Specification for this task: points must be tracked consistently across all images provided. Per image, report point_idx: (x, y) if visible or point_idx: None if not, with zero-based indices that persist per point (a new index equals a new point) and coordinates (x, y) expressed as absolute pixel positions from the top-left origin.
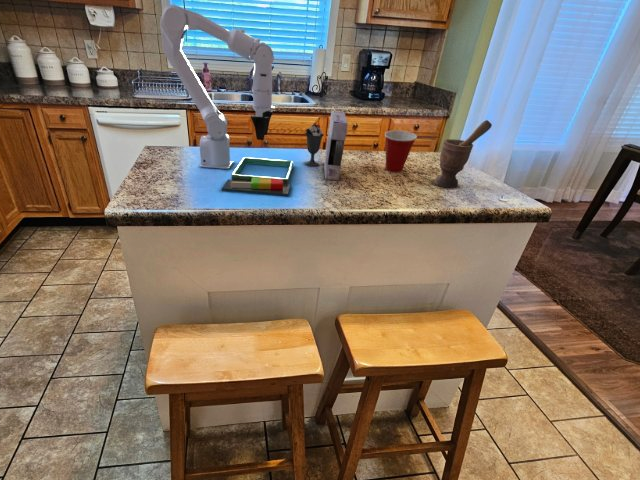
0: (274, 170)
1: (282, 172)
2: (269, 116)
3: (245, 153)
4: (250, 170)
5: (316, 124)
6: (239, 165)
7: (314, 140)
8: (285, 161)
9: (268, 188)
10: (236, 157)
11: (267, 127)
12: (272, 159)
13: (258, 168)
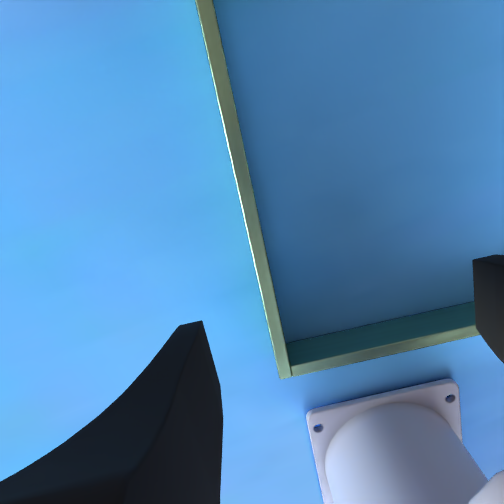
0: (353, 94)
1: (380, 11)
2: (163, 471)
3: (41, 437)
4: (417, 254)
5: None
6: None
7: None
8: (219, 34)
9: None
10: None
11: (192, 363)
12: (236, 163)
13: (351, 223)
